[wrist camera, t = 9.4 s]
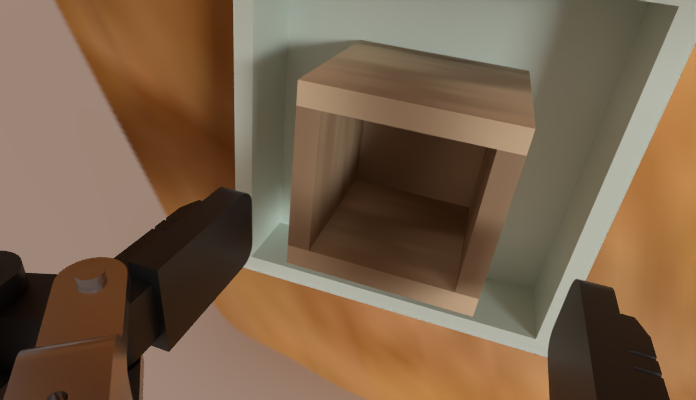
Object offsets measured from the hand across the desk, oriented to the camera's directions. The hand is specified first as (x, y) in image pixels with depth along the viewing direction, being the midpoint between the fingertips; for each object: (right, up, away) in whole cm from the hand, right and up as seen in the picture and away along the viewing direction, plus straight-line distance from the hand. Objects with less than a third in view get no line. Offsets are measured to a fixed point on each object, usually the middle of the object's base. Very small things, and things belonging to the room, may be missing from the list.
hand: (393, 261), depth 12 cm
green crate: (+2, +4, +7) cm, 9 cm away
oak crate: (+2, +4, +7) cm, 8 cm away
